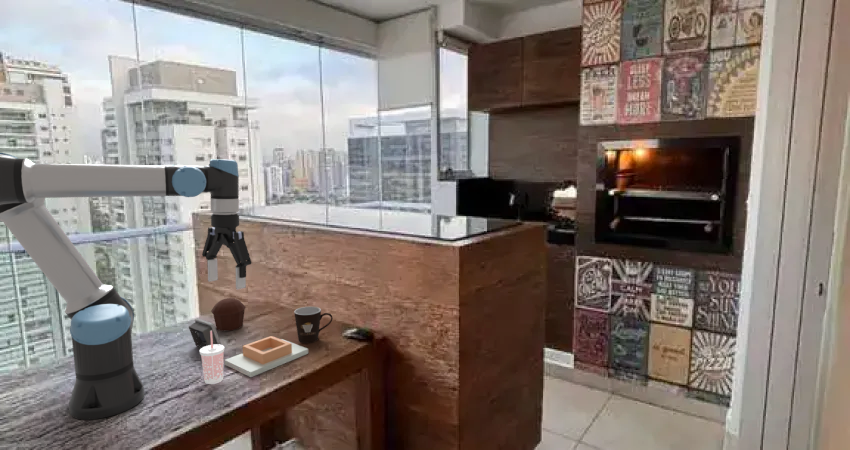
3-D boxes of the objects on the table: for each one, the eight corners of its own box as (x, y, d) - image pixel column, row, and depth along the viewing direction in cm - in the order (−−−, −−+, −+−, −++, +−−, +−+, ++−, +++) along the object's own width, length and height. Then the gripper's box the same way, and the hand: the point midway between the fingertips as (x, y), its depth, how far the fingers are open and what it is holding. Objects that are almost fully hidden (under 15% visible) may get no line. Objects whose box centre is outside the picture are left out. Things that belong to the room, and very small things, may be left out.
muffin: (217, 321, 171) (215, 295, 169) (248, 320, 173) (247, 294, 171) (208, 333, 159) (206, 305, 158) (242, 331, 161) (241, 304, 160)
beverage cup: (226, 373, 130) (224, 325, 128) (225, 383, 124) (223, 333, 122) (202, 376, 128) (199, 328, 126) (200, 387, 122) (197, 336, 120)
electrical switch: (223, 348, 147) (218, 321, 145) (207, 356, 143) (203, 328, 141) (205, 342, 152) (201, 316, 150) (190, 349, 148) (186, 322, 146)
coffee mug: (290, 343, 152) (289, 313, 150) (303, 333, 160) (302, 305, 159) (322, 346, 149) (322, 316, 148) (334, 336, 157) (333, 308, 156)
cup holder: (250, 377, 128) (250, 361, 127) (224, 364, 135) (224, 350, 135) (308, 353, 144) (307, 339, 143) (282, 343, 151) (281, 330, 151)
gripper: (263, 215, 131) (264, 289, 133) (211, 208, 144) (213, 275, 147) (240, 217, 124) (241, 294, 127) (188, 210, 138) (190, 279, 141)
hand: (226, 284), depth 137 cm, fingers open, 13 cm apart
